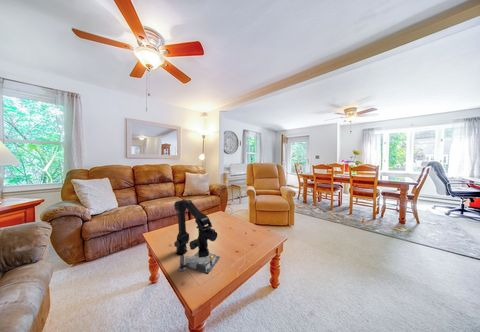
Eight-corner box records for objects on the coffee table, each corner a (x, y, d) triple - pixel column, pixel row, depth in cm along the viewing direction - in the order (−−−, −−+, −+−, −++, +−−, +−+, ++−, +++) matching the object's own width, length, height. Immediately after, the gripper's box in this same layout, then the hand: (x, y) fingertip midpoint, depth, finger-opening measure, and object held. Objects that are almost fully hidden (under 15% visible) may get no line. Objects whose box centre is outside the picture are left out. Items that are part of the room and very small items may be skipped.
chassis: (184, 266, 101) (184, 262, 101) (198, 252, 116) (198, 248, 116) (208, 273, 95) (208, 268, 95) (220, 257, 110) (220, 253, 110)
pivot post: (176, 270, 98) (176, 257, 97) (181, 265, 102) (181, 253, 102) (182, 272, 96) (182, 259, 95) (187, 267, 101) (187, 254, 100)
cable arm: (184, 263, 98) (184, 258, 98) (185, 260, 100) (185, 256, 100) (212, 262, 99) (212, 257, 99) (213, 259, 102) (213, 254, 102)
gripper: (190, 230, 108) (190, 251, 109) (189, 245, 90) (190, 271, 92) (206, 228, 111) (206, 248, 113) (209, 243, 93) (209, 267, 95)
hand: (203, 258), depth 103 cm, fingers closed
